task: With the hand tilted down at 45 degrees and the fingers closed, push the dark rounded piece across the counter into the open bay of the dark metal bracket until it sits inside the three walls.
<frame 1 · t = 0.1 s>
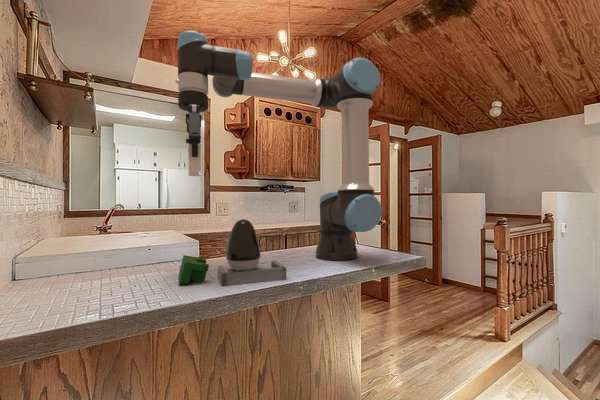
hand: (194, 174, 79), 28 cm above the counter, tool pointing down, fingers open, 13 cm apart
bracket: (249, 275, 83), on the counter
green stepped block: (193, 281, 79), on the counter
dark rounded piece: (243, 270, 91), on the counter
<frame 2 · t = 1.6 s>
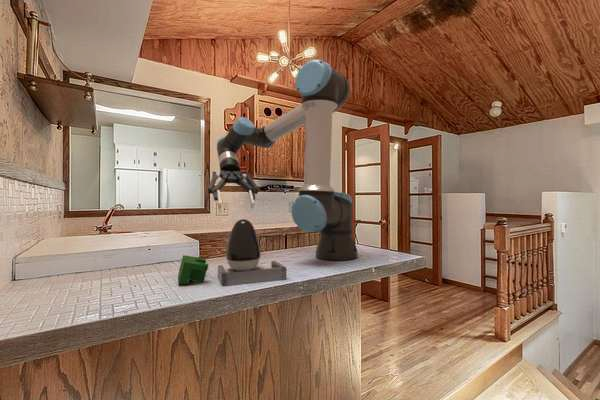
hand: (236, 206, 102), 19 cm above the counter, tool tilted 45°, fingers open, 10 cm apart
nothing on the counter moved.
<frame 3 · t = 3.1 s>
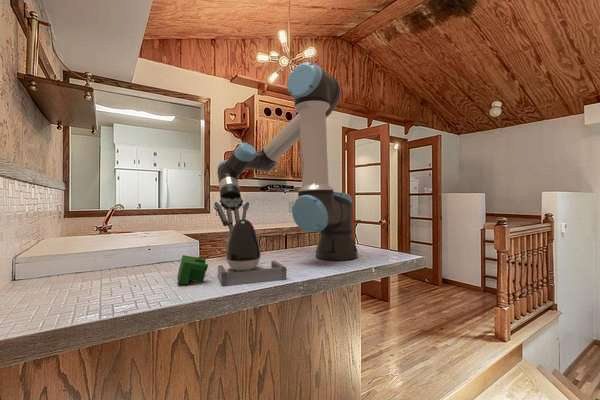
hand: (236, 240, 100), 8 cm above the counter, tool tilted 45°, fingers closed
nothing on the counter moved.
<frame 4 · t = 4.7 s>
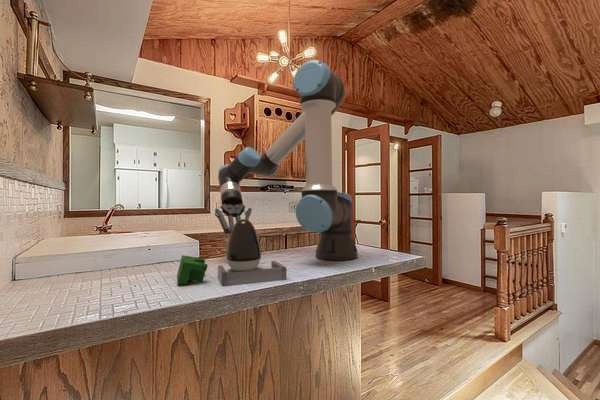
hand: (238, 248, 95), 6 cm above the counter, tool tilted 45°, fingers closed
dark rounded piece: (244, 270, 90), on the counter, touching gripper
everything else where it was.
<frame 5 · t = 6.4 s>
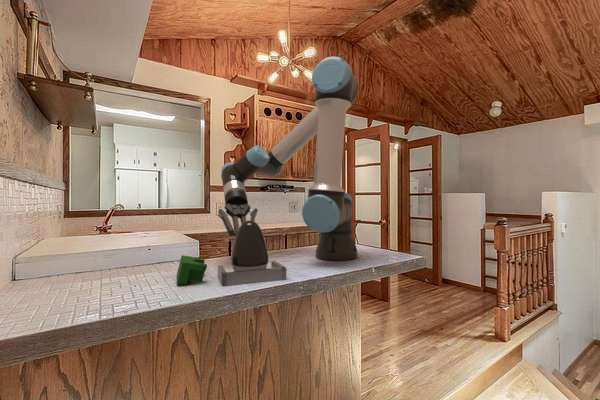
hand: (244, 252, 88), 6 cm above the counter, tool tilted 45°, fingers closed
dark rounded piece: (250, 276, 83), on the counter, touching gripper
everything else where it was.
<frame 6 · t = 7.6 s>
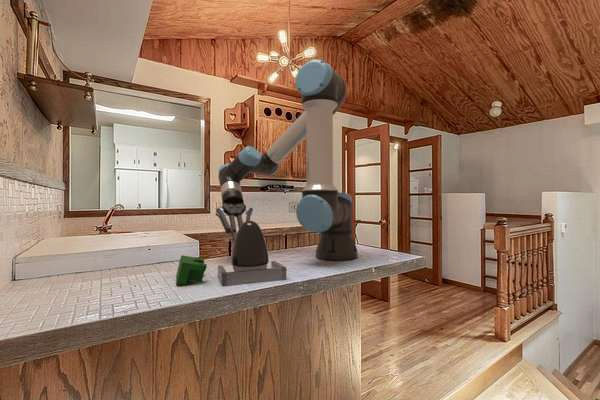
hand: (240, 248, 95), 6 cm above the counter, tool tilted 45°, fingers closed
dark rounded piece: (250, 276, 83), on the counter
everything else where it was.
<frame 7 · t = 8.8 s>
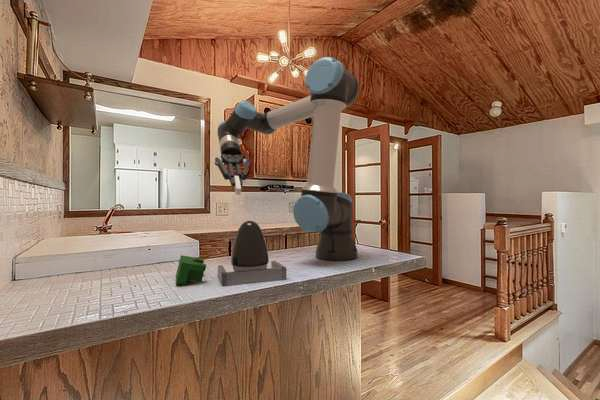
hand: (238, 191, 99), 24 cm above the counter, tool tilted 45°, fingers closed
nothing on the counter moved.
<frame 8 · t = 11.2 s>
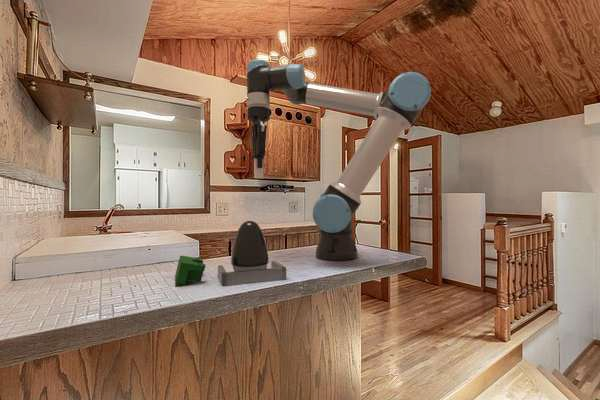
hand: (259, 178, 101), 28 cm above the counter, tool pointing down, fingers closed
nothing on the counter moved.
at the end: dark rounded piece 0.2 cm from the bracket (horizontally); dark rounded piece tilted 0°; dark rounded piece moved 8.6 cm from its start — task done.
